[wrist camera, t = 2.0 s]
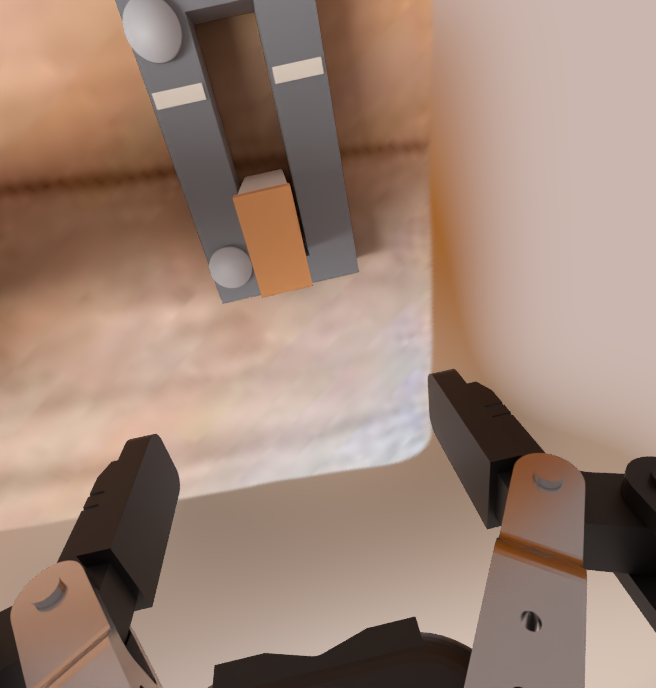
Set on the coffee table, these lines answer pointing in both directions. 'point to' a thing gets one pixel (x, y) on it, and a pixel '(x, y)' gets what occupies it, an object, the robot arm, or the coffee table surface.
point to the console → (210, 140)
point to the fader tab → (272, 233)
